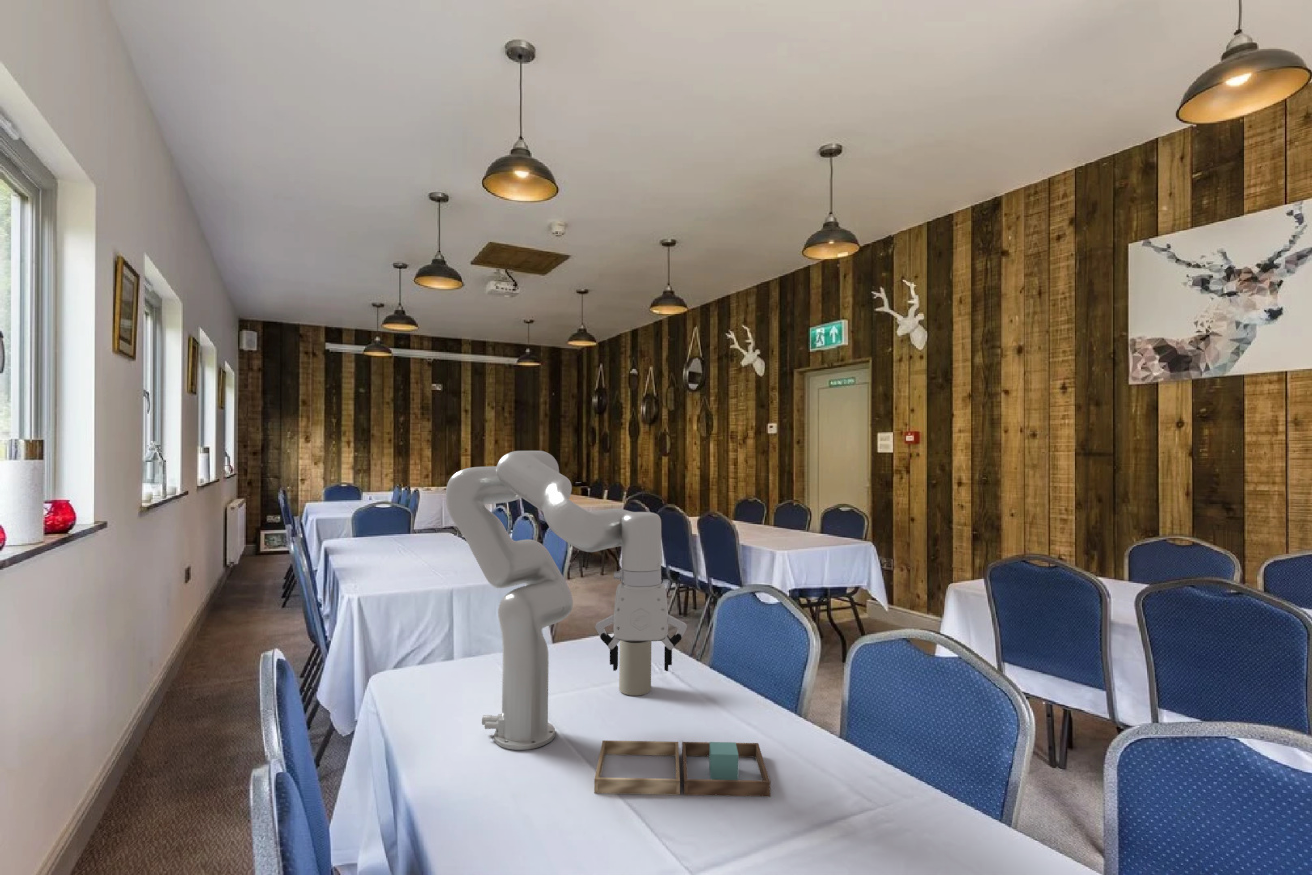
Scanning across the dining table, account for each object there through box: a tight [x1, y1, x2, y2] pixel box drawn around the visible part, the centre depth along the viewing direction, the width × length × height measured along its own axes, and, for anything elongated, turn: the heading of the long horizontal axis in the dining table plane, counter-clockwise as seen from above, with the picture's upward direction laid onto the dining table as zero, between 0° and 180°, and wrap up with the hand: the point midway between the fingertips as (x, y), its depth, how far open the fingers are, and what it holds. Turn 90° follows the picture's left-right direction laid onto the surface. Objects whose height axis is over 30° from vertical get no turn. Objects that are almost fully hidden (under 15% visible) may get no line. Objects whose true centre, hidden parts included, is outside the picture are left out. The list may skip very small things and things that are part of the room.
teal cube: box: [708, 741, 739, 780], centre depth 124 cm, size 5×5×5 cm
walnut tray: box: [681, 741, 771, 797], centre depth 124 cm, size 15×15×2 cm
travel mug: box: [618, 640, 652, 697], centre depth 166 cm, size 8×8×18 cm
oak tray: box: [593, 739, 681, 796], centre depth 125 cm, size 15×15×2 cm
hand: (640, 668), depth 125 cm, fingers open, 9 cm apart
